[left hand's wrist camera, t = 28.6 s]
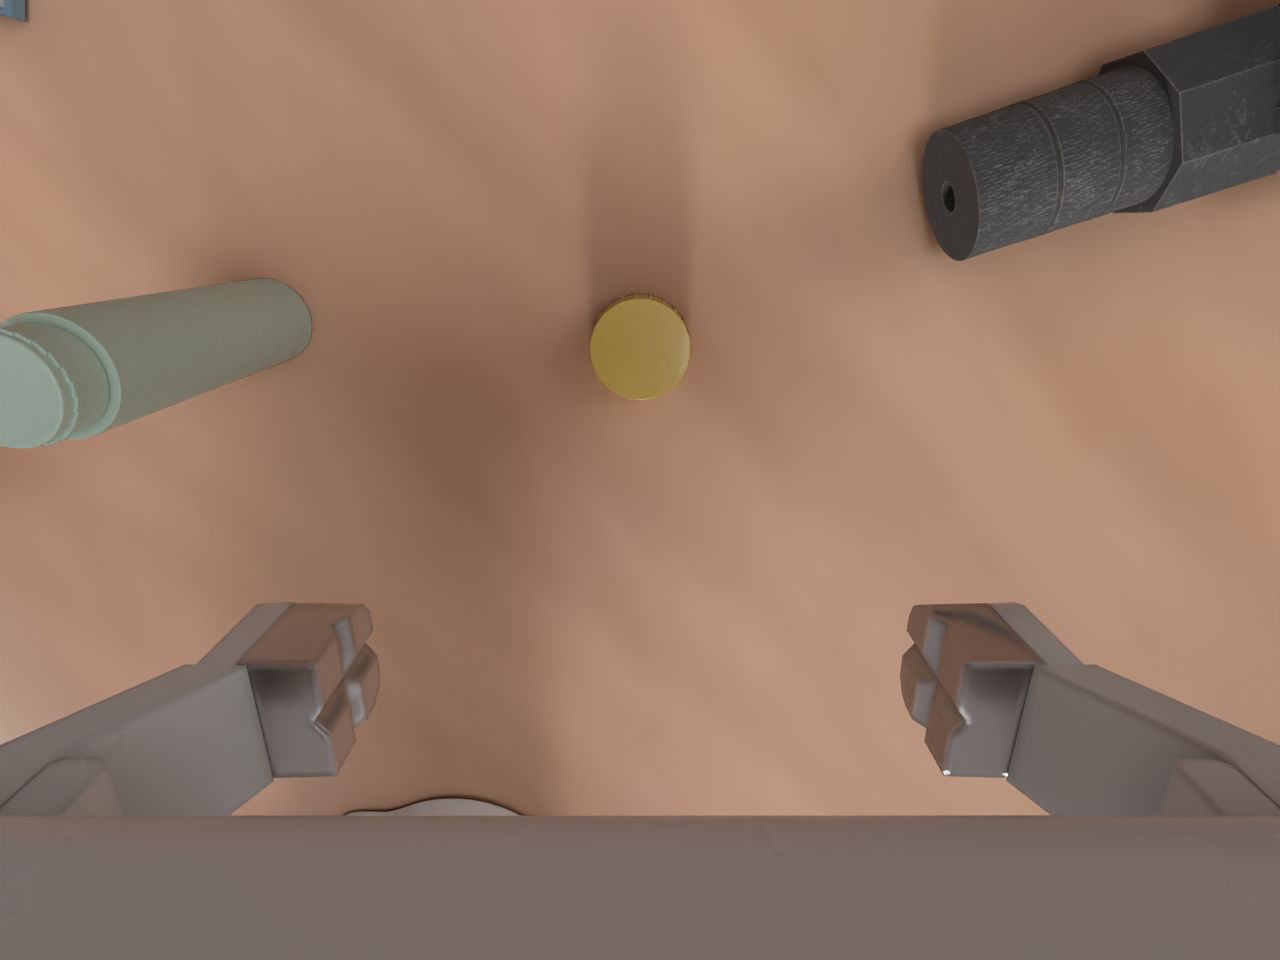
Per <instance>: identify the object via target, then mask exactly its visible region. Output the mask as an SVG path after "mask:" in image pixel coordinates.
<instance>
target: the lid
mask: <svg viewBox="0 0 1280 960" xmlns="http://www.w3.org/2000/svg"><path fill="white" fill-rule="evenodd" d="M684 323H685V321H684V318H683V317H681V316H680V315H679V313H678V312H677V310H676V308H675V306H673V307H672V306H671V305H670V304H669V303H667V302H666V301H665V300H664V298H662V299H660V298H658V297H655V296H652V294H650V293H649V295H647V294H638V293H636V294H634V295H628V296H624V295H623V296H622V298H620V299H618V300H616V301H615V302H611V303H610V305H609V306H608V307H607V308H606V309H605V310H604V311H601V313H600V315H599V319H598V321H597V323H594V326H593V328H592V329H593V333H592V336H591V338H590V340H589V343H590V354H589V356H590V358H591V362H592V365H593V369H594V370H595V372H596V374H597V376H598V377H599V379H600V380H601V381H602V383H603V384H604V385H605V386H606V387H607V388H609V389H610V390H611V391H613V392H614V393H616V394H618V395H620V396H623V397H626V398H630V399H637V400H644V399H651V398H655V397H658V396H660V395H662V394H664V393H666V392H668V391H669V390H670V389H672V388H673V387H674V386H675V385H676V384H677V383H678V382H679V381H680V379H681V378H682V377H683V375H684V373H685V371H686V369H687V367H688V364H689V362H690V361H689V360H690V353H691V350H692V347H691V344H690V338H689V336H690V333H689V331H688V329H686V327H685V324H684Z"/></svg>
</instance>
